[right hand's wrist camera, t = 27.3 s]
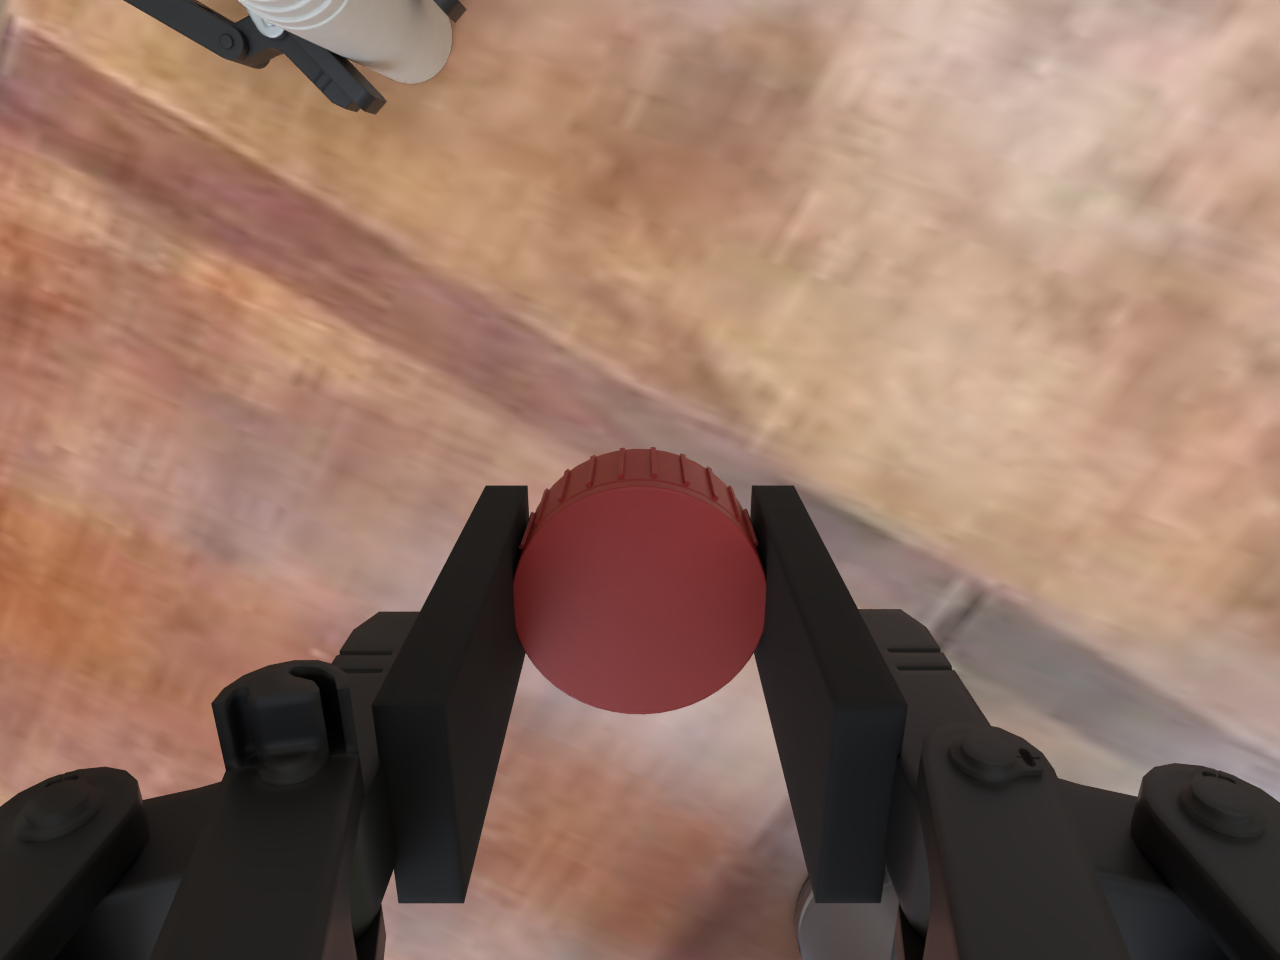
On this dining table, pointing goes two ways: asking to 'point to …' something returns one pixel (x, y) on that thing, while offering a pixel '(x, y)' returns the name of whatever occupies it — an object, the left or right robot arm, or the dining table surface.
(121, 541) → the dining table surface
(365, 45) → the bottle
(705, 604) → the cap
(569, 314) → the dining table surface
